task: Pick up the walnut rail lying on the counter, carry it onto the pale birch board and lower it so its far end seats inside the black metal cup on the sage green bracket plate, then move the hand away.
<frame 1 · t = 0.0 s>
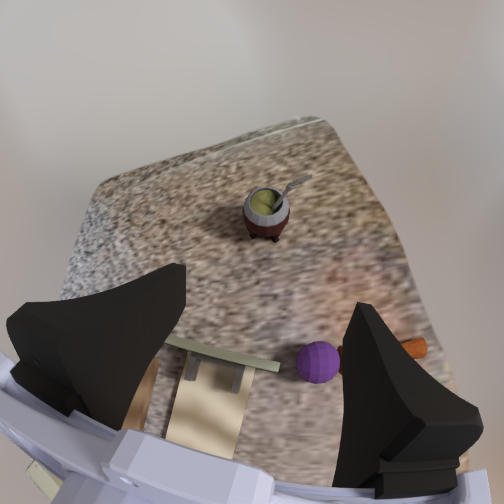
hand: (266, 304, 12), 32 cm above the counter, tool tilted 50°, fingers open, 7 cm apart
kendama: (360, 358, 41), on the counter
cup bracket: (218, 373, 41), on the counter
mate gourd: (269, 227, 50), on the counter
rail: (136, 408, 39), on the counter
skincare box: (85, 466, 34), on the counter
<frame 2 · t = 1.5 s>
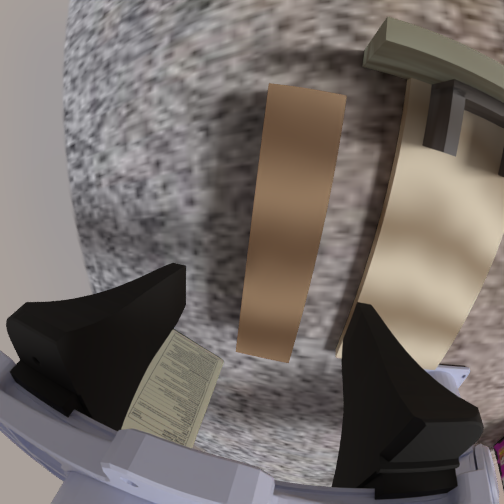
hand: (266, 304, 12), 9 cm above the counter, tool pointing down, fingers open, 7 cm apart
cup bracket: (467, 132, 15), on the counter
rail: (289, 224, 21), on the counter
skincare box: (191, 354, 28), on the counter
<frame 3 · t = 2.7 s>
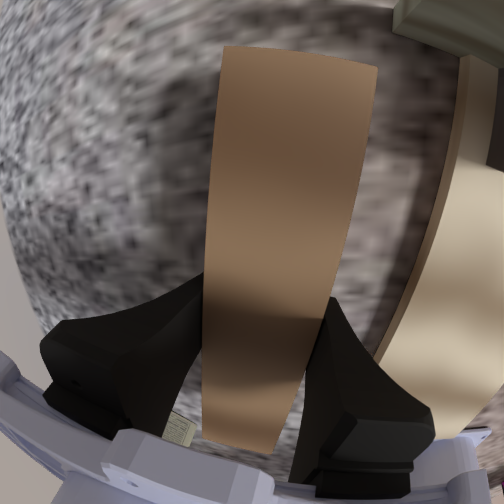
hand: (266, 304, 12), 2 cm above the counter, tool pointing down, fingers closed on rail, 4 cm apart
rail: (273, 280, 14), on the counter, touching gripper
skincare box: (159, 413, 21), on the counter
when the fingers open (4 cm above the counter, at t = 6.9 s): rail stays where it is, resting on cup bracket.
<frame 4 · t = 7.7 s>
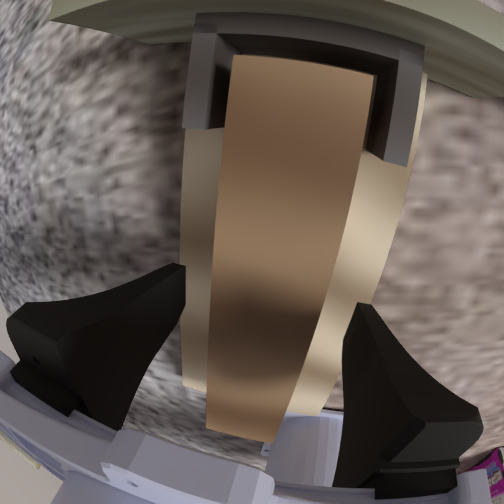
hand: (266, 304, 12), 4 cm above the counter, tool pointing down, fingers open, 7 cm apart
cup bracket: (306, 92, 12), on the counter
rail: (275, 273, 15), point 1 cm above the counter, touching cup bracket
skincare box: (74, 361, 25), on the counter
candy bar box: (482, 464, 22), on the counter
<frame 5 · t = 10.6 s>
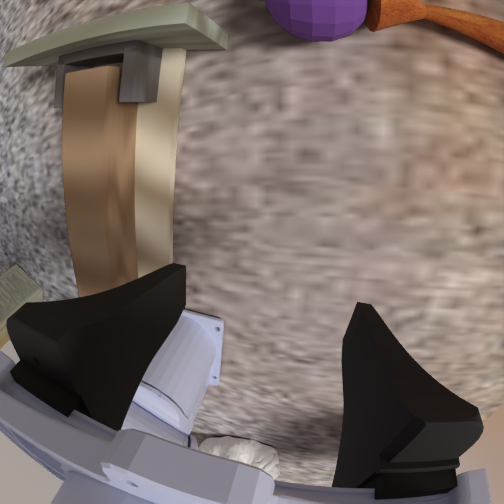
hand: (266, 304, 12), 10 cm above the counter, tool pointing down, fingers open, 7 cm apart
kendama: (415, 22, 13), on the counter
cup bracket: (126, 78, 19), on the counter
rail: (114, 184, 22), point 1 cm above the counter, touching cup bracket
skincare box: (30, 286, 32), on the counter
bust: (242, 445, 37), on the counter
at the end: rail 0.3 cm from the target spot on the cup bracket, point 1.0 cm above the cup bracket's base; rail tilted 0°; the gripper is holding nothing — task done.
